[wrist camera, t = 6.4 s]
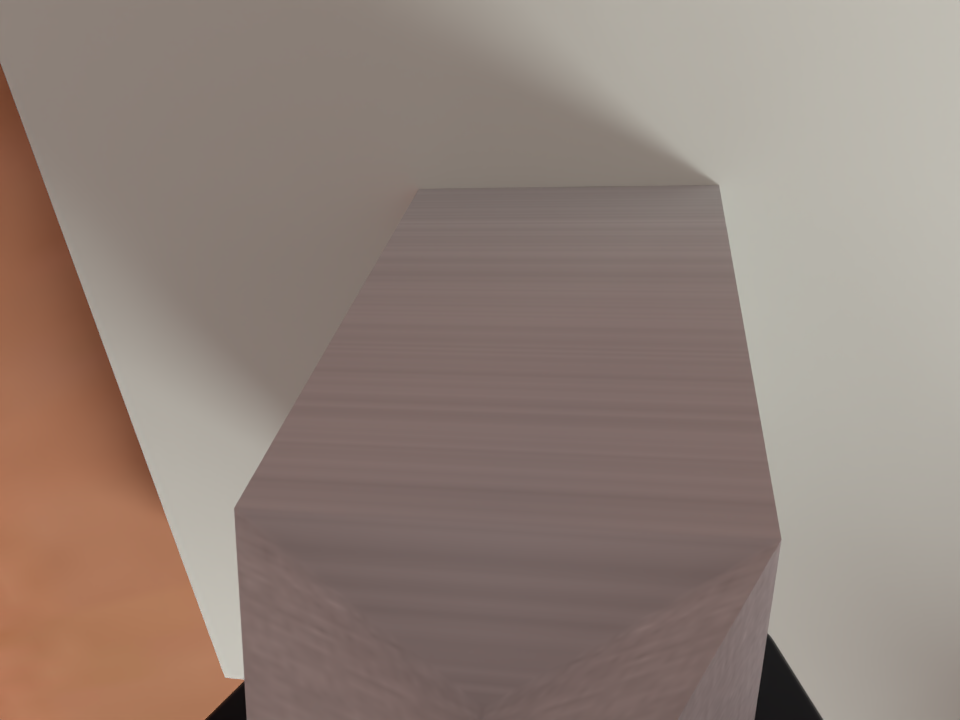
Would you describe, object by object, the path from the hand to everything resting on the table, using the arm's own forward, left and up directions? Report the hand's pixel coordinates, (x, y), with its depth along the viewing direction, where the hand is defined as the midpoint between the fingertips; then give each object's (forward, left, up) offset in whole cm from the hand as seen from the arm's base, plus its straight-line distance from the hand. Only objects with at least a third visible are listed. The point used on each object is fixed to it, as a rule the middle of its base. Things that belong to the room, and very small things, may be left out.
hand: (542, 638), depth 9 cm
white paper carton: (0, 0, -4) cm, 4 cm away
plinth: (0, 0, -7) cm, 7 cm away
